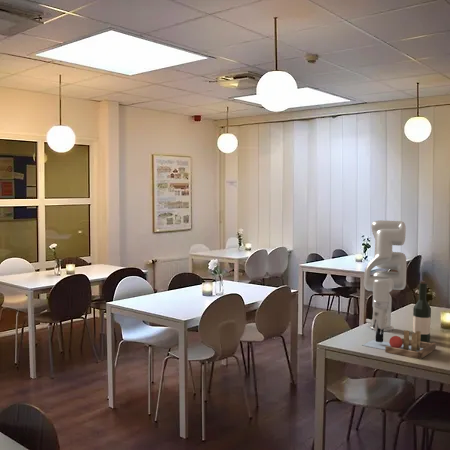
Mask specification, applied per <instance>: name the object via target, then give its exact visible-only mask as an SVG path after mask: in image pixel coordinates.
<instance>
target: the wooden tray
mask: <svg viewBox="0 0 450 450" xmlns="http://www.w3.org/2000/svg"><path fill="white" fill-rule="evenodd" d="M400 338H401V339H402V342H403V344H402V345H404V337H400ZM411 340H412V339H410V338H409V346H411ZM436 345H437V344H436V342H428V343H427V342H421V341H420V348H423V349H422V350H420V351H419V352H415V351H410V350H405V349H399V348H394V347H389V346H386V348H385V350H384V352H385V353H389V354H393V355H399V356H403V357H408V358H413V359H419V360H422V359H423V358H425V357H426V356H428V355H429V354H431V353H432V352H434V351H435V350H437V349H436Z"/></svg>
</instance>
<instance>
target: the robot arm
mask: <svg viewBox="0 0 450 450" xmlns="http://www.w3.org/2000/svg"><path fill="white" fill-rule="evenodd" d="M406 229H407V228H406V223H405V222H404V221H401V220H383V219H382V220H374V221H372V223H371V232H372V235H373V238H374V257H372V259H371V260H370V261H369V262H367V265H366V267H365V268H364V275H363V276H364V277H363V278H364V279H363V286H364V287H363V288H364V289H365V290H366V291H368V292H372V319H369V318H366V319H365V322H366V324H370V325H369V328H370V329H371V330H374V332H375V340H376V342H383V341H384V332H390V331H393V330H394V326H393V325H391V324H392V323H391V321H392V300H393V299H392V296H391V294H390V292H392V291H393V290H395V291H396V290H397V291H401V290H404V289H406V285H407V256H406V254H405V253H404V252H398V251H397V252H396V251H393V246H403V245H404V244H405V241H406V231H407V230H406ZM375 267H377V268H378V269H382V270H383V271H382V270H379V271H375V272H374V273H373V274H372V275H371V272H372V270H373V269H374V268H375ZM384 270H385V271H384ZM386 270H395V271H386Z"/></svg>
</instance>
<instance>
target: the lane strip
mask: <svg viewBox="0 0 450 450" xmlns="http://www.w3.org/2000/svg"><path fill="white" fill-rule="evenodd" d="M362 345H363V346H364V347H366V348H367V347H368V348H373V349H379V350H384V351H385V348H386V346H389V347H391V346H390V343H389V342H388V341H384V340H383V342H376V339H372V340H369V341H368V342H366V343H363V344H362ZM403 345H404V344H402V346H401V347H400V348H399V349H403ZM422 349H423V348H422V347H420V350H422ZM409 350H410V351H411V346H410V345H409ZM417 352H419V351H417Z"/></svg>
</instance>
